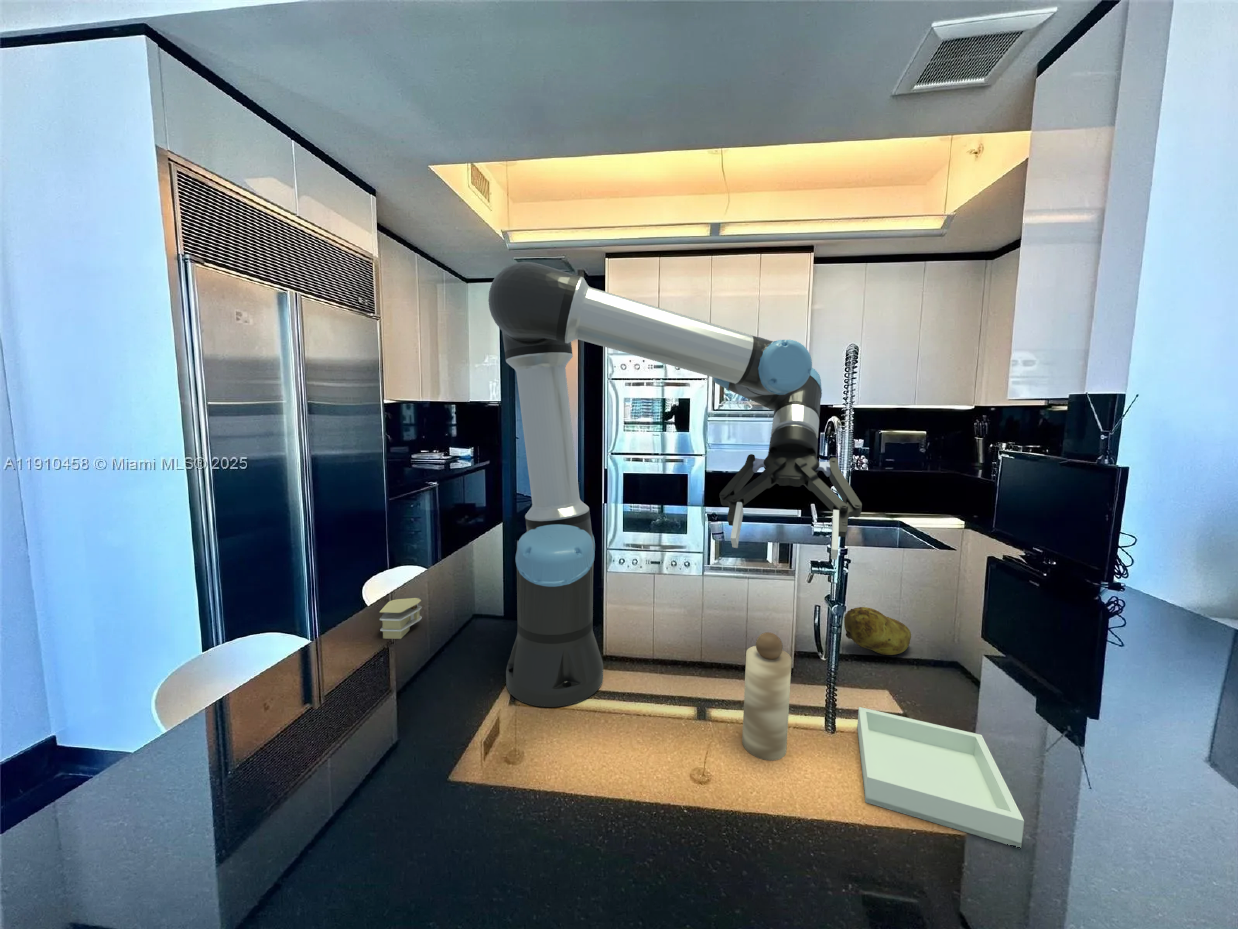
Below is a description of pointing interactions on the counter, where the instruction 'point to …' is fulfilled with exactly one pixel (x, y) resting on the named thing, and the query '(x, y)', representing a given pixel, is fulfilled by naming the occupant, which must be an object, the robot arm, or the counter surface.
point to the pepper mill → (766, 698)
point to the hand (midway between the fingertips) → (782, 548)
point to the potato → (876, 631)
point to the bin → (936, 776)
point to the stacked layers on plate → (399, 617)
